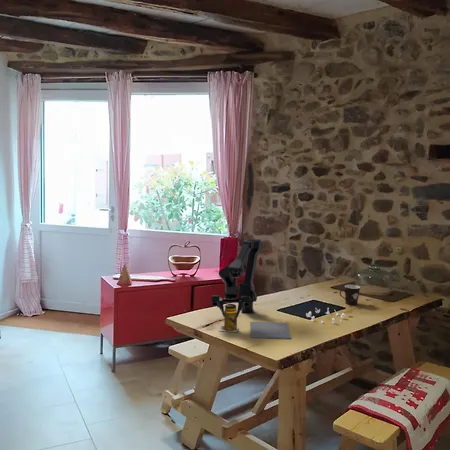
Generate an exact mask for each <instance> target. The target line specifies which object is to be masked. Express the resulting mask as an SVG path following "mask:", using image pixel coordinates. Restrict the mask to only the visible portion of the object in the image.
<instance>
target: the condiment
mask: <svg viewBox="0 0 450 450" xmlns="http://www.w3.org/2000/svg"><path fill="white" fill-rule="evenodd" d="M237 310H238V309H237V305H236V303H226V304H225V305H224V317H223V319H224V320H223V321H224V322H223V323H224V325H221V326H220V328H219V330H218V331H219V332H226V333H227V332H229V333H237V331H238V330H239V326H238V317H237Z"/></svg>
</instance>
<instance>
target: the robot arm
mask: <svg viewBox="0 0 450 450" xmlns="http://www.w3.org/2000/svg"><path fill="white" fill-rule="evenodd" d="M263 246H264V242H263V241H262V239H257V238H248V239H247V240H246V239H245V240H243V241H242V246H241V248H240V249H239V252H238V254H237V256H236V258H235V260H233V261H232V262H230V264H229V265H225V266H224V267H223V268H221V269H220V270H219V271H218V276H219V277H220V279H221V280H222V282H223V283H224V287H225V288H224V298H223V297H221V296H220V295H211V299H210V301H211V302H210V303H211V304H210V305H211V306H213V307H217V308H219V310H220V312H221V314H222V316H223V318H224V311H225V305H224V303H226V304H237V309H236V310H237V318H238V317H239V315H240V312H241V314H242V313H243V314H244V313H247V314H254V313H255V311H254V302H257V300H258V295H257V293H256V292H255V291H256V288H255V285H254V277H255V271H256V265H257V259H258V255H260V253H261V252H262V249H263ZM245 263H246V266H245V267H244V265H245ZM243 275H244V278H243V281H242V283H241V282H240V283H239V285H238V280H237V278H239V279H240V278H242V277H243Z"/></svg>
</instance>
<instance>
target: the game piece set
mask: <svg viewBox="0 0 450 450" xmlns="http://www.w3.org/2000/svg"><path fill="white" fill-rule="evenodd" d="M314 308H315V313H316V314H319V313H320V312H321V309H318V308H317V307H314ZM326 309H327V311H326V314H327V315H329V314H331V313H330V312H331V311H329V309H330V308H329V307H327V308H326ZM334 312H335V313H336V314H335V316H339V315H340V314H339V313H338V312H337V311H336V310H334ZM305 315H306V317H307V318H311V322H315V316H314V315H313V316H312V311H309V312H308V313H307V312H306V313H305ZM344 317H346V314H345V312H344V313H342V314H341V315H340V318H341V319H342V320H341V319H339V321H340V323H343V319H344ZM335 320H336V319H335V317H332V319H331V321H332V324H335ZM320 323H321V324H324V323H325V321H324V320H323V319H322V320H321V321H320Z"/></svg>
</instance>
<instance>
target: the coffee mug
mask: <svg viewBox="0 0 450 450" xmlns="http://www.w3.org/2000/svg"><path fill="white" fill-rule="evenodd" d="M360 290H361V287H360V286H359V285H356V284H346V285H344V289H340V291H339V295H340V297H342V298H343V299H344V301H345V305H347V306H357V305H358V301H359V296H360ZM342 292H344V296H343V295H342Z"/></svg>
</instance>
